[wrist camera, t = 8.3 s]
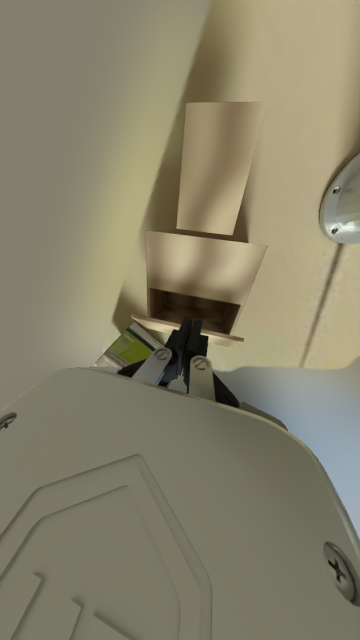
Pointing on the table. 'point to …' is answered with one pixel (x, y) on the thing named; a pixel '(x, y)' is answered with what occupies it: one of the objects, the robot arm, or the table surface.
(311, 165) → the table surface
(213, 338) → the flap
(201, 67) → the table surface
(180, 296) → the carton
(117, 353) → the tea box
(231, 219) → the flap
